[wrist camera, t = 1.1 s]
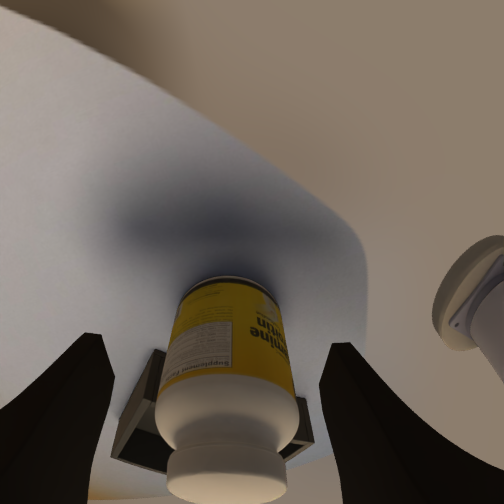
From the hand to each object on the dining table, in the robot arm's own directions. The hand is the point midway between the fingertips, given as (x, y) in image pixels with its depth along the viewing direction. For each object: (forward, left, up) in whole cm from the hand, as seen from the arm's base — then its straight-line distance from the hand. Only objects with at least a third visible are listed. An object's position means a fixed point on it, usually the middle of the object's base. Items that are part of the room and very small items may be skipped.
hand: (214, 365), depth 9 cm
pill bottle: (-3, +4, -9) cm, 11 cm away
